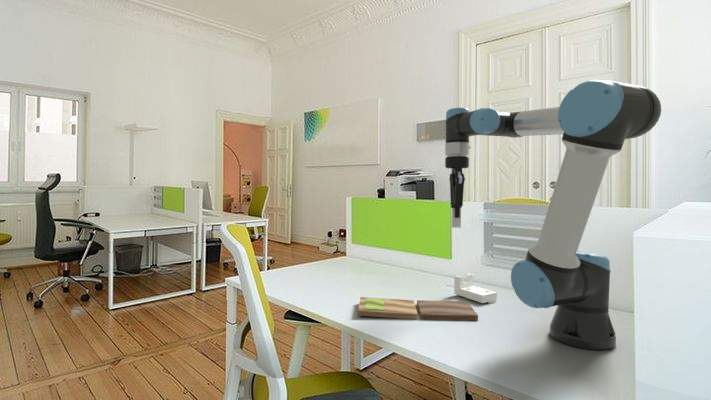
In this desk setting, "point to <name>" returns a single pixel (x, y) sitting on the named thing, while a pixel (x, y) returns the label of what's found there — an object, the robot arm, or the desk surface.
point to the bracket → (473, 290)
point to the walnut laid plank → (446, 310)
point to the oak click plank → (387, 308)
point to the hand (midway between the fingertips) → (456, 227)
